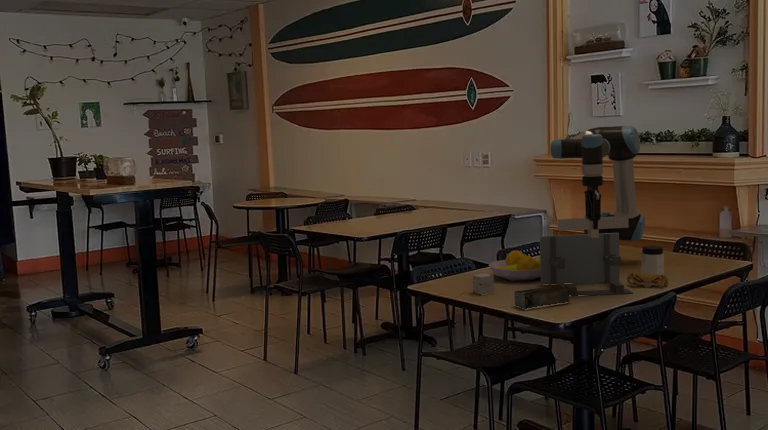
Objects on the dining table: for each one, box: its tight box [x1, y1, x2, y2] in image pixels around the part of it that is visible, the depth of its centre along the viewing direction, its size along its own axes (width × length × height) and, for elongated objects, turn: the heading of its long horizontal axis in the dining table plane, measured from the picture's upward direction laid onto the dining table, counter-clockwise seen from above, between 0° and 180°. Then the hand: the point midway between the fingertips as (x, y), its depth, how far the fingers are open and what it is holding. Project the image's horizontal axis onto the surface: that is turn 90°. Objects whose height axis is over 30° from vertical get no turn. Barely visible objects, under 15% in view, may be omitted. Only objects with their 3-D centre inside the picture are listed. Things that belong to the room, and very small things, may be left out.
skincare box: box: [472, 272, 495, 295], centre depth 304 cm, size 6×6×7 cm
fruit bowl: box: [488, 249, 541, 282], centre depth 329 cm, size 28×27×11 cm
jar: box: [641, 245, 665, 276], centre depth 322 cm, size 9×8×12 cm
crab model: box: [626, 272, 669, 289], centre depth 305 cm, size 16×13×6 cm
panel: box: [539, 233, 622, 286], centre depth 307 cm, size 14×32×20 cm, turn 91°
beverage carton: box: [513, 284, 570, 309], centre depth 281 cm, size 8×19×7 cm, turn 111°
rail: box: [557, 216, 629, 232], centre depth 292 cm, size 4×26×4 cm, turn 91°
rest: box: [563, 281, 634, 296], centre depth 295 cm, size 7×28×4 cm, turn 92°
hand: (593, 236), depth 293 cm, fingers closed on rail, 3 cm apart
